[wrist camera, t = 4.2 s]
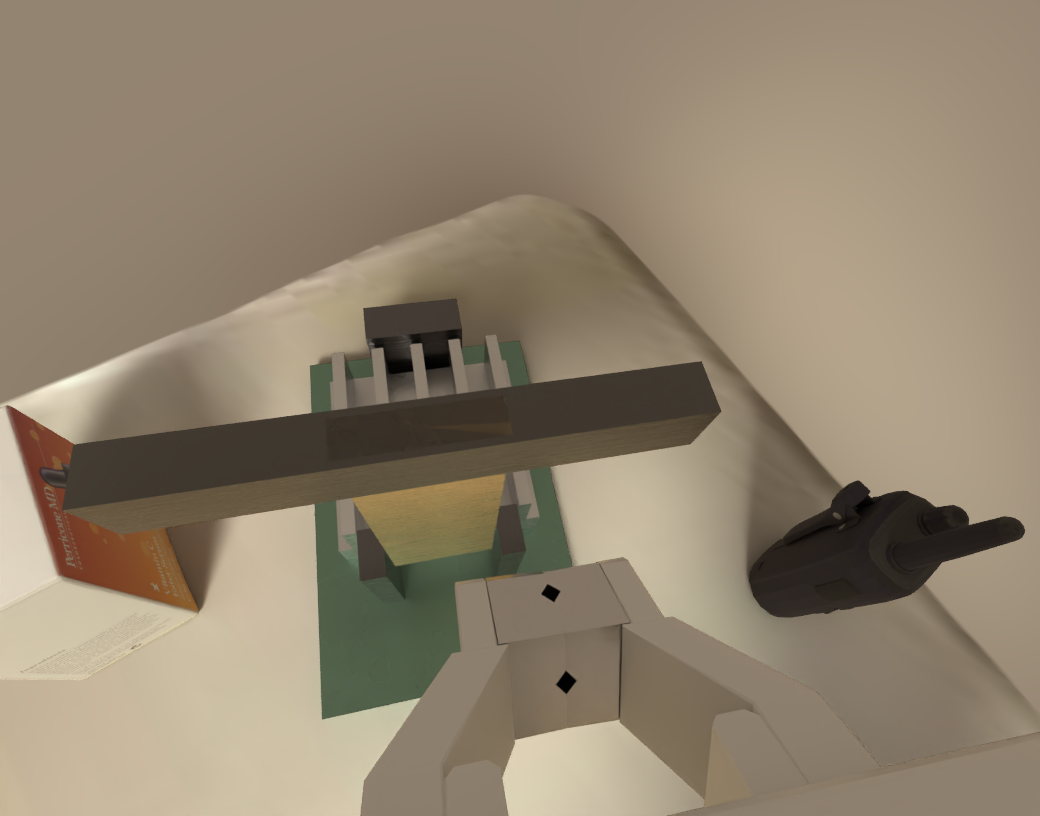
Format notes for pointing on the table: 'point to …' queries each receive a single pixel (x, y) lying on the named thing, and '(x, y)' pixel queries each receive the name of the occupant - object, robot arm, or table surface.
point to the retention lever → (389, 458)
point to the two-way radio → (868, 552)
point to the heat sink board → (358, 553)
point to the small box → (72, 570)
